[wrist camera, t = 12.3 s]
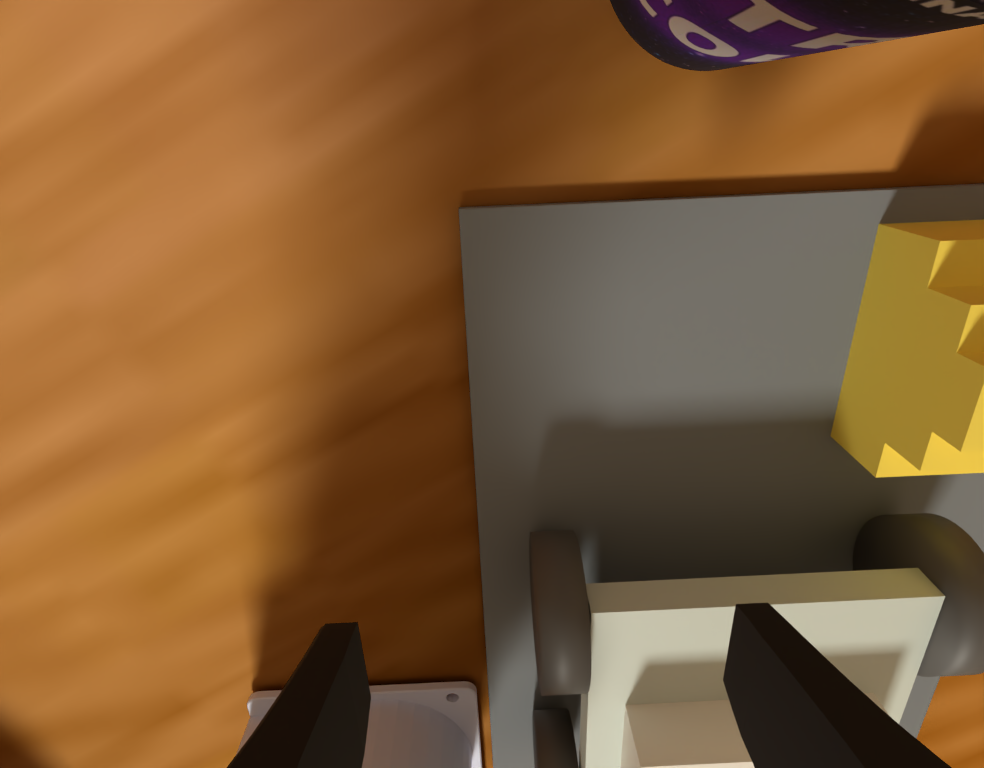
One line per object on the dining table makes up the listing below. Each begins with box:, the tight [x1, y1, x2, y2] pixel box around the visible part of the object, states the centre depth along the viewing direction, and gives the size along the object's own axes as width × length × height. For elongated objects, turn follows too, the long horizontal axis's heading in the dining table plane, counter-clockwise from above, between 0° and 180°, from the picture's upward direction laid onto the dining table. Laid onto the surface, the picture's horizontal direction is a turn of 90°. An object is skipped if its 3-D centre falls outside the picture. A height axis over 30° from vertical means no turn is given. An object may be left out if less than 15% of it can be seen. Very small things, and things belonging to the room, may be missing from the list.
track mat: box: [459, 183, 984, 768], centre depth 22 cm, size 19×25×1 cm
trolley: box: [529, 513, 984, 768], centre depth 21 cm, size 13×14×6 cm
